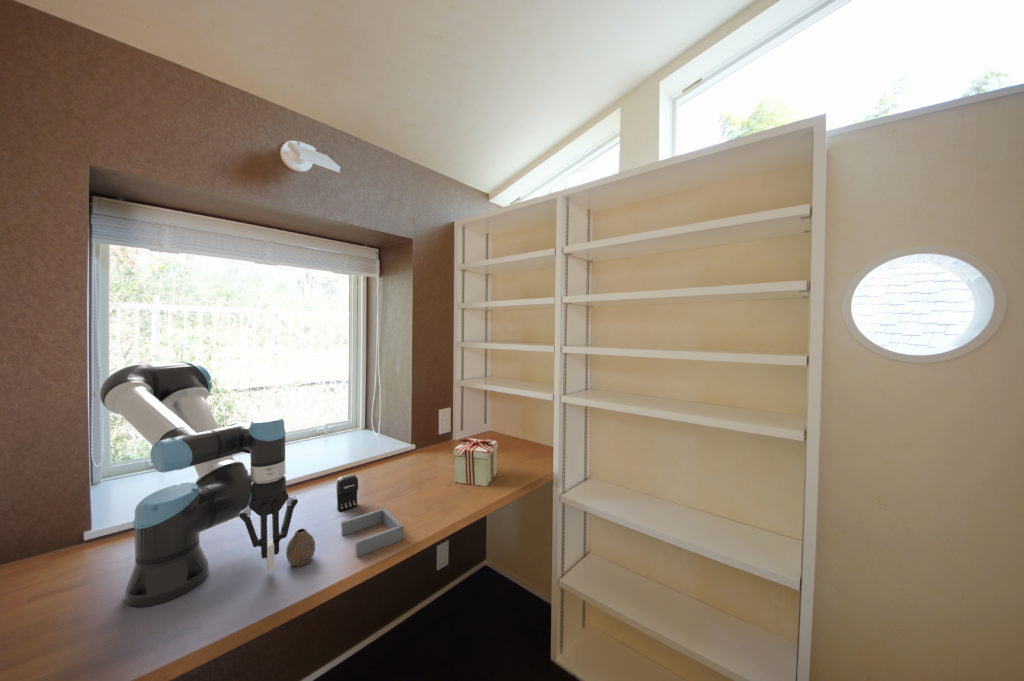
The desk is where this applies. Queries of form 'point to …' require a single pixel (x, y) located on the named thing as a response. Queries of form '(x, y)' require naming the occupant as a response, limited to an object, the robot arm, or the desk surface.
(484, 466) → the gift box
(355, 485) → the battery charger
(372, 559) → the desk surface
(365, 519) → the box
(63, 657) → the desk surface
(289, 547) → the vase
